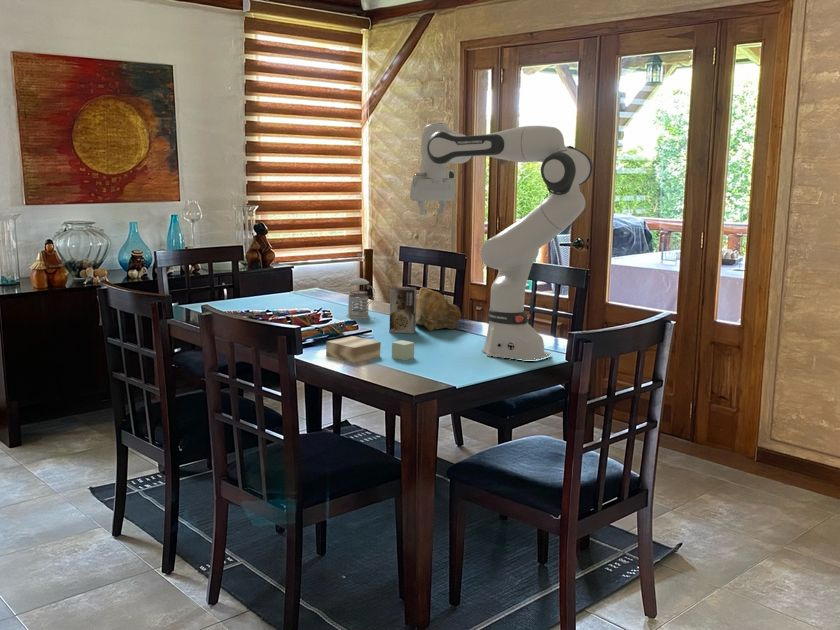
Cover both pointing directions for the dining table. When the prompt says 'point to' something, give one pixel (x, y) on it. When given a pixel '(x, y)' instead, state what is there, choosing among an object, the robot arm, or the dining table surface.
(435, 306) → the rough brown rock
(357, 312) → the french press
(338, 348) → the maple block
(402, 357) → the sage cube
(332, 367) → the dining table surface
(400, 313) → the coffee box
